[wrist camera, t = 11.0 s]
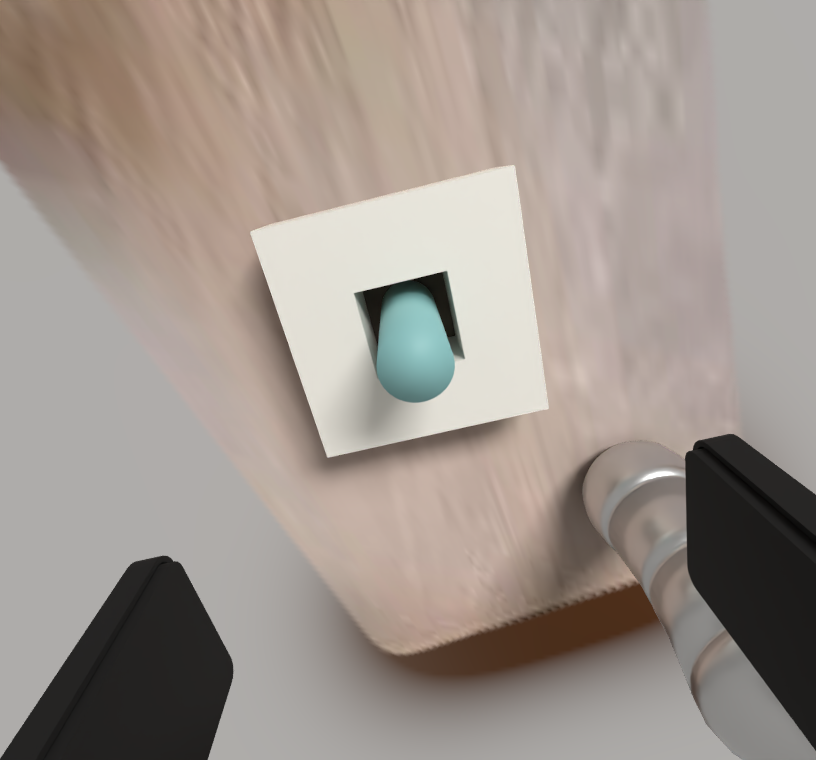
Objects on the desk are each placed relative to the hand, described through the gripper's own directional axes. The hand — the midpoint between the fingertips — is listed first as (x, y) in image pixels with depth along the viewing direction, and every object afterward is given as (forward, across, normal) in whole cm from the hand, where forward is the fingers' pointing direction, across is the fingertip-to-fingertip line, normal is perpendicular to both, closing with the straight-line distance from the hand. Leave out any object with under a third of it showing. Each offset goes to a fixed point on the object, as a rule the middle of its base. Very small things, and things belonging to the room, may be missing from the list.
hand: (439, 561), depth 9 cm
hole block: (+20, 0, 0) cm, 20 cm away
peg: (+20, 0, 0) cm, 20 cm away
